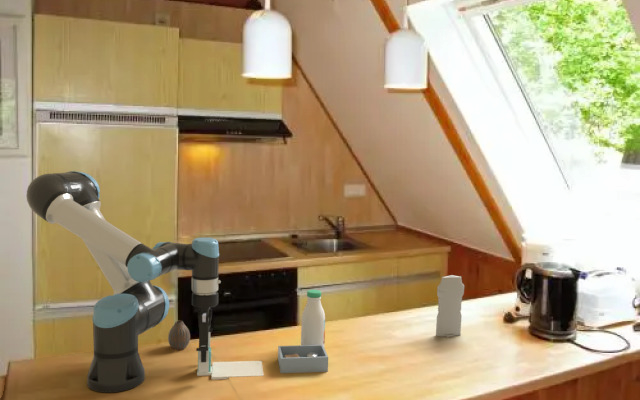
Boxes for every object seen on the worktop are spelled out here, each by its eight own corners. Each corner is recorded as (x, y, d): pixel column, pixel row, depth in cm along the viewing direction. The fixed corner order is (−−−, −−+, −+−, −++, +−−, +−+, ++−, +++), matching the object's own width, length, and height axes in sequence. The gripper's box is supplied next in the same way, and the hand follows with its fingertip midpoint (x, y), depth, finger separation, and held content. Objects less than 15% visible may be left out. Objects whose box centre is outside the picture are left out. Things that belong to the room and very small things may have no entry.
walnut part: (288, 369, 168) (289, 360, 168) (284, 364, 172) (284, 355, 171) (301, 368, 170) (301, 358, 169) (296, 363, 173) (296, 353, 173)
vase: (190, 343, 188) (190, 317, 187) (189, 351, 182) (190, 324, 181) (168, 344, 187) (168, 318, 186) (167, 352, 180) (167, 325, 179)
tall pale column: (458, 332, 207) (462, 273, 205) (464, 336, 204) (467, 276, 201) (432, 334, 205) (435, 274, 202) (437, 338, 201) (440, 277, 198)
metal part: (304, 362, 173) (305, 353, 173) (313, 360, 175) (314, 351, 174) (310, 367, 170) (310, 358, 170) (319, 365, 172) (319, 356, 172)
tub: (280, 375, 166) (281, 358, 165) (277, 361, 176) (278, 345, 175) (327, 373, 168) (328, 357, 167) (322, 360, 178) (322, 344, 177)
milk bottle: (321, 356, 181) (323, 295, 179) (298, 353, 182) (299, 293, 180) (326, 347, 188) (328, 289, 186) (303, 345, 190) (305, 287, 188)
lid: (196, 380, 161) (196, 357, 160) (198, 365, 171) (198, 343, 170) (263, 378, 164) (264, 355, 163) (261, 363, 174) (262, 341, 173)
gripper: (217, 304, 152) (216, 380, 154) (219, 280, 176) (218, 346, 179) (188, 304, 151) (188, 381, 153) (194, 280, 175) (194, 346, 177)
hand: (204, 362), depth 166 cm, fingers open, 13 cm apart
